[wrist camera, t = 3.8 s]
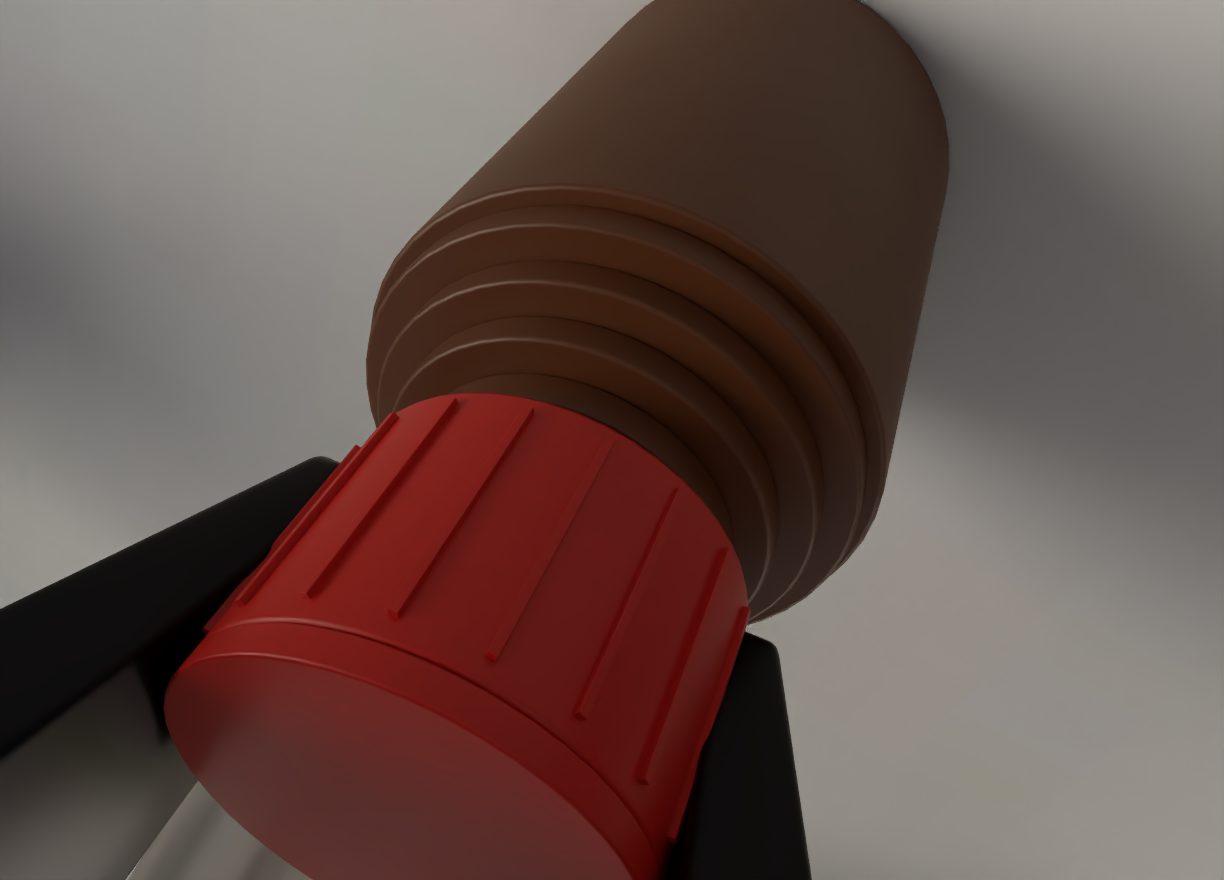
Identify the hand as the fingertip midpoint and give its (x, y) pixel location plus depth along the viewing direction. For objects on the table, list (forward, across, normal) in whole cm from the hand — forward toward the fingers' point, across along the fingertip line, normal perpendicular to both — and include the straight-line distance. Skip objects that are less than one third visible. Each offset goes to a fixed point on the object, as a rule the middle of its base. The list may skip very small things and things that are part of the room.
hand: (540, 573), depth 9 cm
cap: (0, 0, 0) cm, 0 cm away
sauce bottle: (+9, 0, 0) cm, 9 cm away
